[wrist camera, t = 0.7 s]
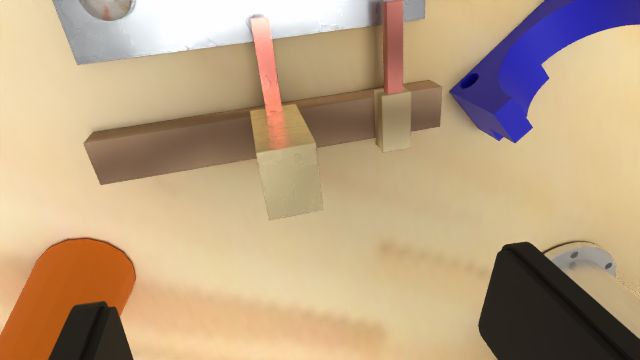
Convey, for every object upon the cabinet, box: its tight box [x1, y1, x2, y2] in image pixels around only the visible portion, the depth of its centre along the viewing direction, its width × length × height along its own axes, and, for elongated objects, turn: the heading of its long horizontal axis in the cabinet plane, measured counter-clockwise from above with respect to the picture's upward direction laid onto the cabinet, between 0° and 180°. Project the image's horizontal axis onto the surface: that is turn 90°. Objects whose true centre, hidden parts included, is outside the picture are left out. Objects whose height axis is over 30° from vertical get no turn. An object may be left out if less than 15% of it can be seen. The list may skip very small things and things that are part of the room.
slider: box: [250, 16, 323, 220], centre depth 22 cm, size 10×3×7 cm, turn 6°
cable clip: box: [449, 0, 640, 143], centre depth 27 cm, size 12×4×6 cm, turn 134°
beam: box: [83, 0, 442, 185], centre depth 26 cm, size 10×24×4 cm, turn 96°
